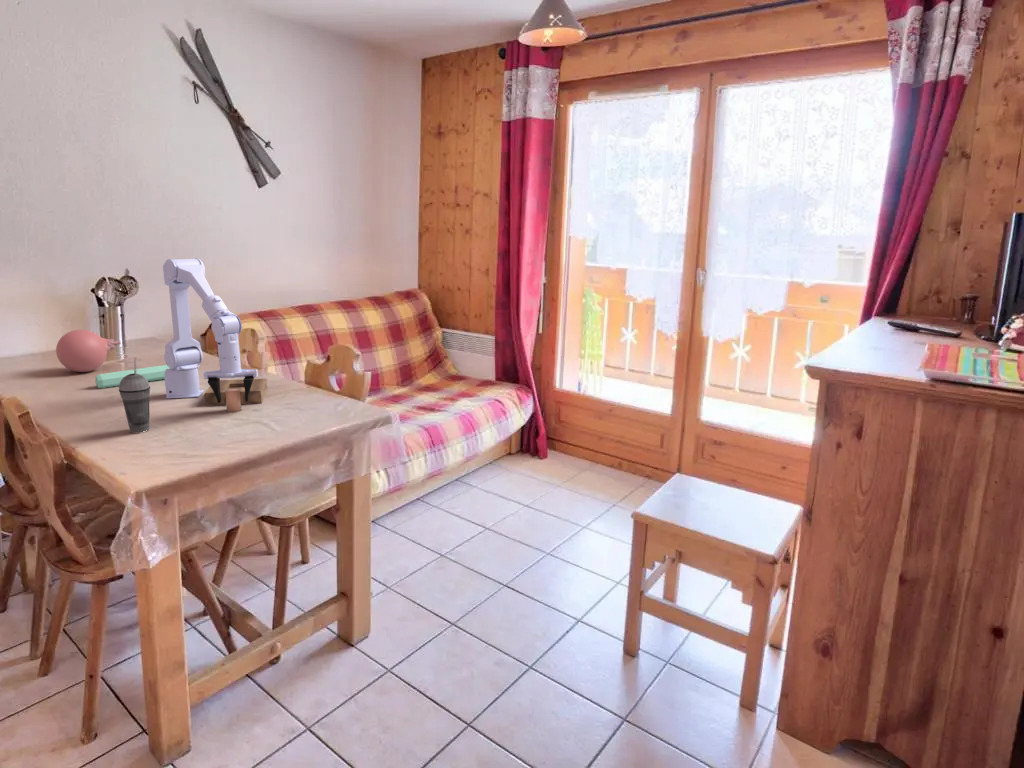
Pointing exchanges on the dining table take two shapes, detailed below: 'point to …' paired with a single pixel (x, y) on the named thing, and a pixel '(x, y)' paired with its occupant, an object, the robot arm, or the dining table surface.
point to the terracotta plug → (233, 400)
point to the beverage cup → (136, 400)
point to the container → (116, 377)
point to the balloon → (83, 350)
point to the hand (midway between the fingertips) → (233, 401)
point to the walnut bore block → (255, 393)
